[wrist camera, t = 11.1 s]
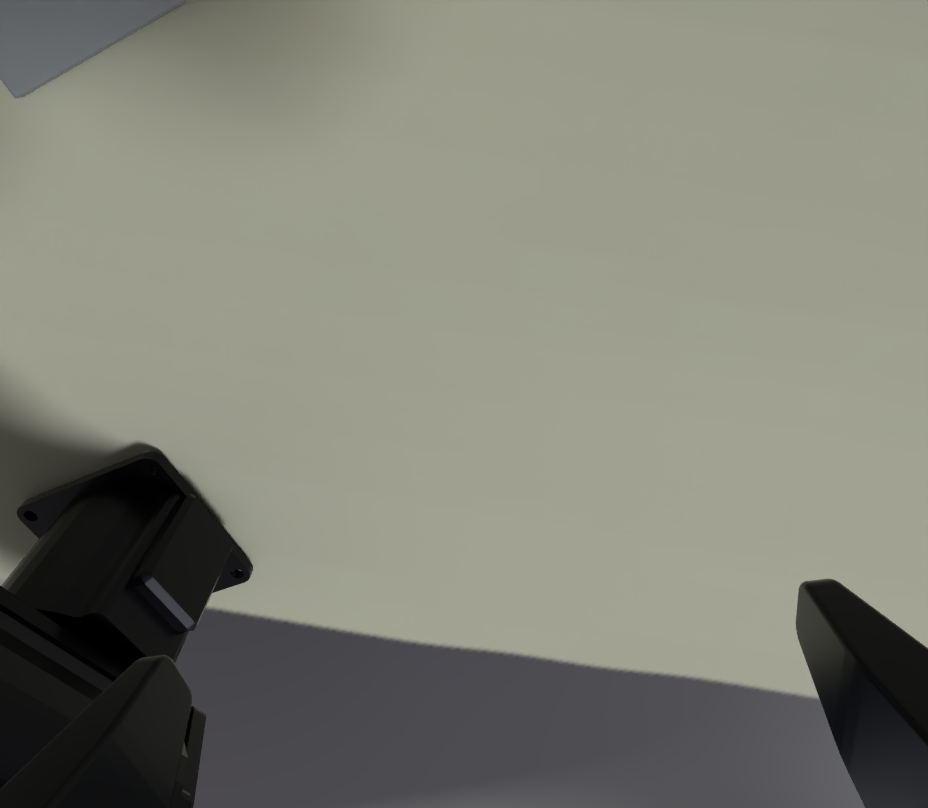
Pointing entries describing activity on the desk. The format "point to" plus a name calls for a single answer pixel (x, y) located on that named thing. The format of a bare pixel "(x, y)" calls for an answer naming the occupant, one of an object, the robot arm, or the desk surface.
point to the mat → (64, 35)
